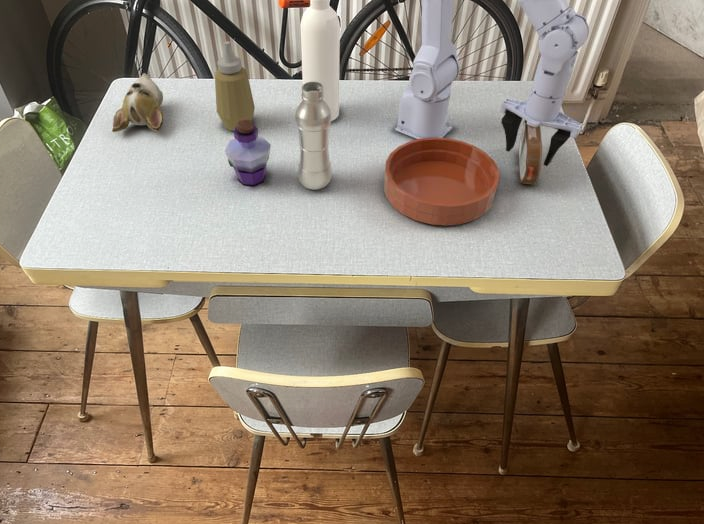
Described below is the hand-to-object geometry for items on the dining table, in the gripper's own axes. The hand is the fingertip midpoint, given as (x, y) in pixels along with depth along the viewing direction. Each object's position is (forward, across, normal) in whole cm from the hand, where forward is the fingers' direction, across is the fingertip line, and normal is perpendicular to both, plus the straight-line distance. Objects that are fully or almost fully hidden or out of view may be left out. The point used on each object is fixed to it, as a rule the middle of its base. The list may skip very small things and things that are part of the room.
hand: (528, 155), depth 110 cm
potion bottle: (+3, -41, -34) cm, 53 cm away
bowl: (+3, -10, -16) cm, 19 cm away
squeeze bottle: (+3, -56, -22) cm, 60 cm away
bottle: (+3, -44, -8) cm, 45 cm away
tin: (+3, 0, 0) cm, 3 cm away
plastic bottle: (+3, -30, -28) cm, 41 cm away
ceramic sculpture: (+3, -73, -33) cm, 81 cm away
